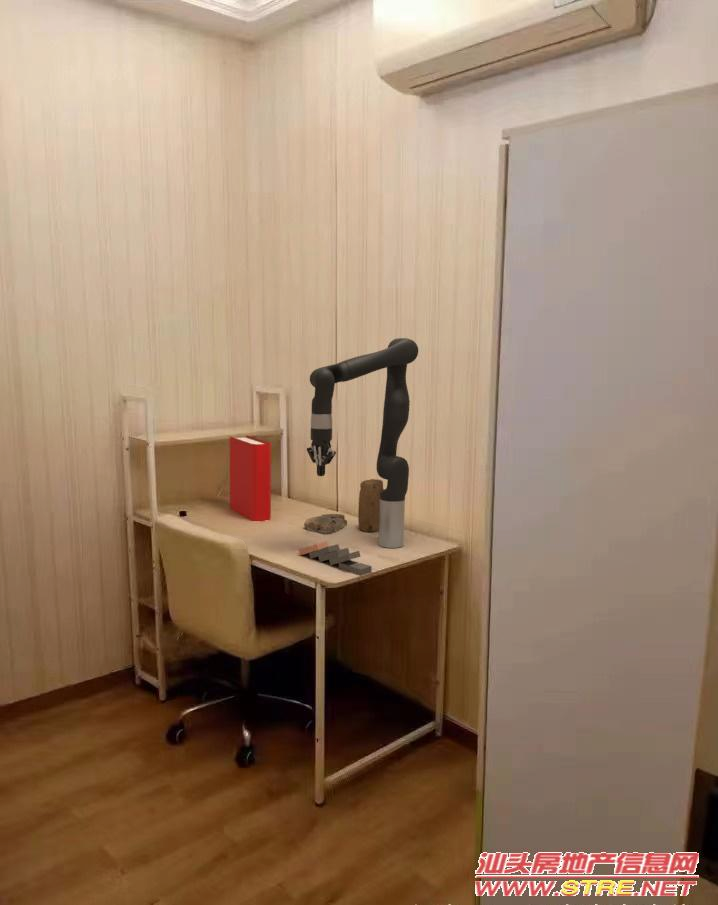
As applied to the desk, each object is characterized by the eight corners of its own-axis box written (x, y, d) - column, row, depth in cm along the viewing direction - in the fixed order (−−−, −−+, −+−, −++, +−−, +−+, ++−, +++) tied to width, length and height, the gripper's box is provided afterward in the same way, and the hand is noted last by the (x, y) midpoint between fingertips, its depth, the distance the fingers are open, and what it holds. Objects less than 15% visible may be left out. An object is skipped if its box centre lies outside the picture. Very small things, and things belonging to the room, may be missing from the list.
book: (229, 508, 322) (229, 436, 317) (247, 506, 326) (246, 435, 321) (254, 522, 299) (254, 444, 294) (272, 520, 303) (272, 443, 298)
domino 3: (318, 556, 248) (337, 550, 241) (328, 553, 251) (347, 547, 244) (319, 562, 247) (338, 556, 241) (330, 559, 251) (349, 553, 244)
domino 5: (338, 562, 241) (360, 569, 234) (349, 559, 244) (371, 565, 237) (338, 568, 241) (360, 575, 234) (349, 565, 244) (371, 572, 238)
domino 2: (308, 552, 251) (327, 546, 244) (319, 550, 255) (338, 543, 248) (310, 558, 251) (329, 552, 244) (321, 556, 254) (339, 549, 247)
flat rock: (328, 520, 306) (299, 529, 289) (329, 508, 305) (299, 517, 289) (356, 526, 298) (327, 535, 282) (357, 514, 298) (328, 523, 281)
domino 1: (298, 549, 255) (316, 543, 248) (308, 547, 258) (327, 541, 251) (299, 555, 254) (318, 549, 247) (310, 552, 258) (328, 547, 251)
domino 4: (328, 559, 244) (347, 553, 237) (340, 556, 247) (358, 550, 240) (330, 565, 243) (349, 559, 236) (341, 562, 247) (360, 556, 240)
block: (370, 533, 285) (371, 483, 282) (356, 530, 290) (357, 480, 287) (388, 528, 293) (389, 479, 290) (374, 525, 298) (375, 477, 295)
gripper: (342, 427, 253) (341, 477, 255) (316, 424, 261) (315, 471, 264) (326, 429, 247) (326, 479, 250) (300, 425, 256) (300, 474, 259)
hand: (320, 475), depth 257 cm, fingers closed
